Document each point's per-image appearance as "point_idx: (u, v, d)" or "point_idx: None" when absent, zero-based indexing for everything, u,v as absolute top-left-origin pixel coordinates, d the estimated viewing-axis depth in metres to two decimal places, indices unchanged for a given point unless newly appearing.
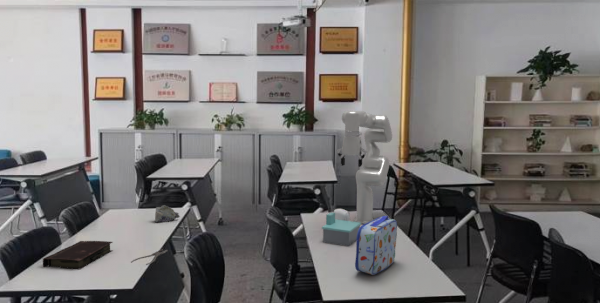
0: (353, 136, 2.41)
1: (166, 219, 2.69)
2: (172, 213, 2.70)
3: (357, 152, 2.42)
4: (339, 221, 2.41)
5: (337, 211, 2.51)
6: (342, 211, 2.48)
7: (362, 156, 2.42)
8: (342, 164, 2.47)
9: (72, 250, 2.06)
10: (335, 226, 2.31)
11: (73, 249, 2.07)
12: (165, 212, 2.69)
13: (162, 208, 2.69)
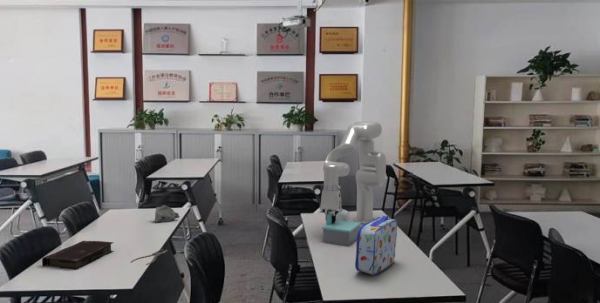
0: (332, 190, 2.32)
1: (166, 219, 2.68)
2: (172, 213, 2.70)
3: (336, 206, 2.33)
4: (339, 221, 2.41)
5: None
6: (342, 211, 2.48)
7: (335, 212, 2.35)
8: None
9: (72, 250, 2.06)
10: (335, 226, 2.31)
11: (74, 249, 2.07)
12: (165, 212, 2.69)
13: (162, 208, 2.69)
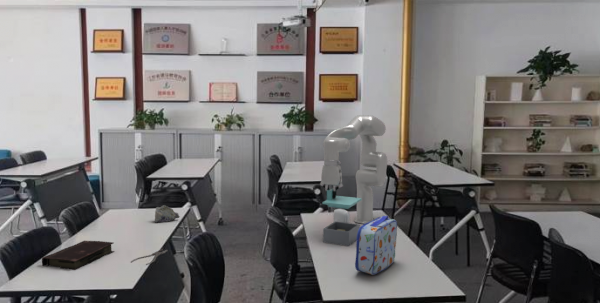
0: (332, 165, 2.31)
1: (166, 219, 2.68)
2: (172, 213, 2.69)
3: (337, 182, 2.32)
4: (340, 197, 2.40)
5: (337, 211, 2.51)
6: (342, 211, 2.48)
7: (336, 188, 2.34)
8: None
9: (72, 250, 2.06)
10: (336, 202, 2.30)
11: (74, 249, 2.07)
12: (165, 212, 2.68)
13: (162, 208, 2.68)
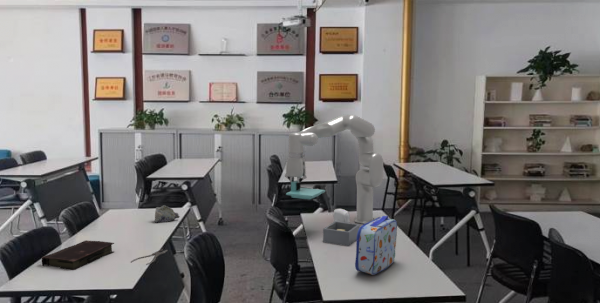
0: (296, 158, 2.40)
1: (166, 219, 2.68)
2: (172, 213, 2.69)
3: (300, 174, 2.41)
4: (304, 189, 2.49)
5: (337, 211, 2.51)
6: (342, 211, 2.48)
7: (300, 179, 2.42)
8: None
9: (72, 250, 2.06)
10: (299, 193, 2.38)
11: (74, 249, 2.07)
12: (165, 212, 2.68)
13: (162, 208, 2.68)
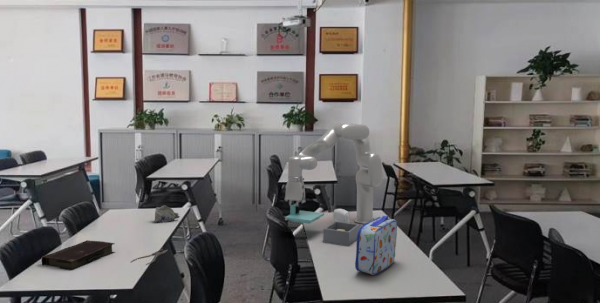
0: (295, 182, 2.41)
1: (166, 219, 2.68)
2: (172, 213, 2.69)
3: (300, 197, 2.42)
4: (303, 212, 2.50)
5: (337, 211, 2.51)
6: (342, 211, 2.48)
7: (299, 203, 2.44)
8: None
9: (72, 249, 2.06)
10: (298, 217, 2.40)
11: (74, 249, 2.07)
12: (165, 212, 2.68)
13: (162, 208, 2.68)
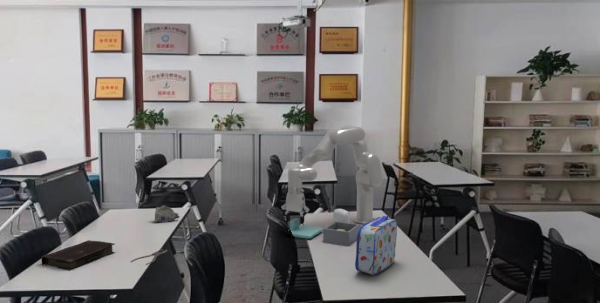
0: (295, 193, 2.42)
1: (165, 219, 2.68)
2: (172, 213, 2.69)
3: (300, 209, 2.43)
4: (303, 227, 2.51)
5: (337, 211, 2.51)
6: (342, 211, 2.48)
7: (304, 213, 2.43)
8: (287, 220, 2.48)
9: (72, 249, 2.07)
10: (297, 232, 2.41)
11: (75, 249, 2.07)
12: (164, 212, 2.68)
13: (162, 208, 2.68)
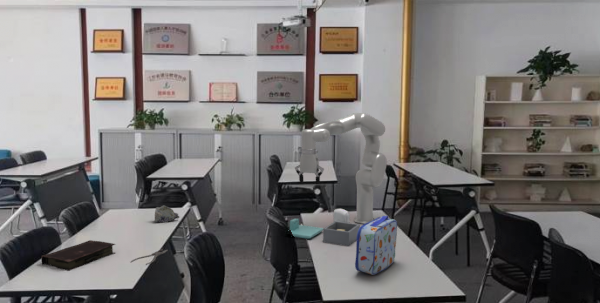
0: (309, 154, 2.43)
1: (165, 219, 2.68)
2: (171, 213, 2.69)
3: (314, 170, 2.44)
4: (303, 227, 2.51)
5: (337, 211, 2.51)
6: (342, 211, 2.48)
7: (319, 173, 2.44)
8: (300, 181, 2.49)
9: (73, 249, 2.07)
10: (297, 232, 2.41)
11: (75, 249, 2.08)
12: (164, 212, 2.68)
13: (162, 208, 2.68)
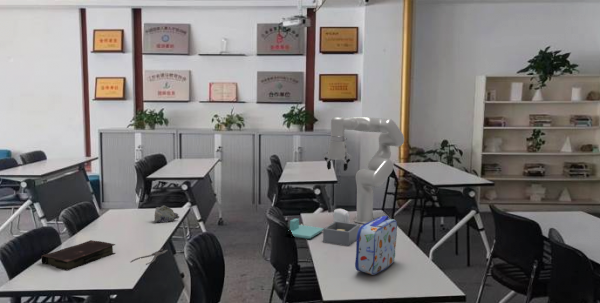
0: (338, 141, 2.49)
1: (165, 219, 2.68)
2: (171, 214, 2.69)
3: (343, 156, 2.50)
4: (303, 227, 2.51)
5: (337, 211, 2.51)
6: (342, 211, 2.48)
7: (347, 160, 2.51)
8: (328, 168, 2.55)
9: (73, 249, 2.07)
10: (297, 232, 2.41)
11: (75, 249, 2.08)
12: (164, 212, 2.68)
13: (161, 208, 2.68)
